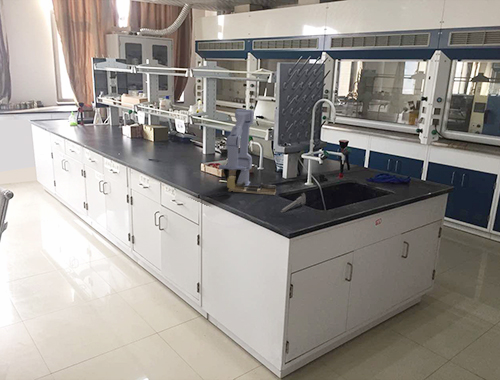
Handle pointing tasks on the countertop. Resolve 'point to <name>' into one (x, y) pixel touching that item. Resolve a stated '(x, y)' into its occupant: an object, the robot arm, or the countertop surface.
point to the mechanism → (254, 189)
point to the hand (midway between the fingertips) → (232, 183)
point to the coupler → (231, 182)
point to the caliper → (295, 202)
